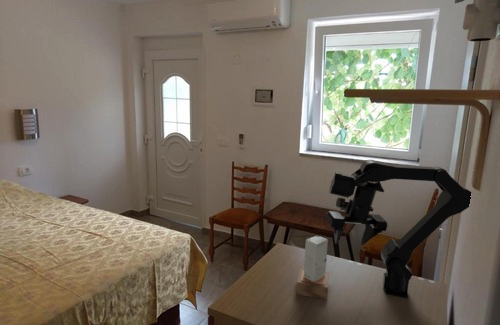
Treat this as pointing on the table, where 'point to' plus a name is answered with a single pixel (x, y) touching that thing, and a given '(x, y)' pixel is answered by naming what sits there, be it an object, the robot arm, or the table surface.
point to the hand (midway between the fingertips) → (349, 244)
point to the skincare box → (315, 258)
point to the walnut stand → (312, 286)
